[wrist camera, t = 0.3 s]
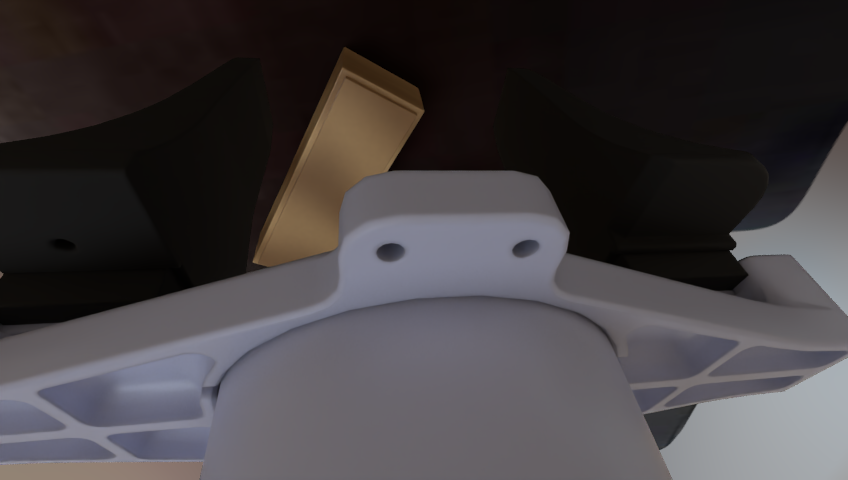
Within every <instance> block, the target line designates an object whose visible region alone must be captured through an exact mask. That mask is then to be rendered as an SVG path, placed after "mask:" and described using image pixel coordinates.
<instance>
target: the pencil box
mask: <svg viewBox="0 0 848 480" xmlns="http://www.w3.org/2000/svg"><path fill="white" fill-rule="evenodd" d="M423 113H424V107H423V104H422V100H421V96H420V92H419V89H418V88H417V87H415V86H414V85H412V84H410V83H408V82H406V81H405V80H403V79H401V78H399V77H398V76H396V75H394V74H392V73H390V72H389V71H387V70H385V69H383V68H382V67H380V66H378V65H376V64H374V63H373V62H371V61H369V60H367V59H365V58H364V57H362V56H360V55H358V54H357V53H355V52H353V51H351V50H349V49H348V48H346V47H344V48H343V50H342V52H341V54H340V57H339V59H338V61H337V63H336V66H335V68H334V70H333V72H332V75H331V77H330V79H329V81H328V83H327V86H326V88H325V90H324V92H323V95H322V97H321V99H320V101H319V103H318V106H317V108H316V110H315V112H314V115H313V117H312V119H311V121H310V124H309V126H308V128H307V130H306V132H305V135H304V137H303V139H302V141H301V144H300V146H299V148H298V150H297V153H296V155H295V157H294V159H293V161H292V164H291V166H290V168H289V170H288V173H287V175H286V177H285V179H284V181H283V184H282V186H281V188H280V190H279V193H278V195H277V197H276V199H275V202H274V204H273V206H272V208H271V210H270V213H269V215H268V217H267V219H266V222H265V224H264V226H263V228H262V231H261V233H260V237H259V240H258V244H257V248H256V251H255V255H254V259H253V263H257V264H260V265H264V266H267V267H272V266H276V265H279V264H283V263H287V262H291V261H294V260H298V259H302V258H306V257H309V256H313V255H317V254H321V253H324V252H328V251H332V250H334V249H336V248H337V247H338V238H339V212H340V209H341V205H342V202H343V198H344V195H345V192H347V191H348V190H349V189H350V188H352V187H353V186H354V185H355V184H357V183H358V182H359V181H361V180H362V179H363V178H364V177H366V176H371V175H376V174H381V173H385V172H387V171H388V170H389V168H390V167H391V165H392V163H393V162H394V160H395V158H396V157H397V155H398V154H399V152H400V150H401V149H402V147H403V146H404V144H405V142H406V141H407V139H408V137H409V136H410V134H411V133H412V131H413V129H414V128H415V126H416V125H417V123H418V121H419V120H420V118H421V116H422V115H423Z"/></svg>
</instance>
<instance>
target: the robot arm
mask: <svg viewBox="0 0 848 480" xmlns="http://www.w3.org/2000/svg"><path fill="white" fill-rule="evenodd" d="M272 129H273V121H272V116H271V111H270V107H269V102H268V97H267V92H266V87H265V82H264V78H263V73H262V68H261V63H260V59H259V58H234V59H232V60H230V61H228V62H227V63H225V64H223V65H222V66H220V67H219V68H217V69H215V70H214V71H212V72H211V73H209V74H208V75H206V76H205V77H203V78H201V79H200V80H198V81H197V82H195V83H193V84H192V85H190V86H188V87H186V88H185V89H183V90H181V91H179V92H178V93H176V94H174V95H172V96H170V97H169V98H167V99H165V100H163V101H160V102H158V103H156V104H154V105H152V106H149V107H147V108H144V109H142V110H140V111H137V112H134V113H132V114H129V115H126V116H123V117H119V118H116V119H113V120H110V121H107V122H104V123H101V124H98V125H94V126H90V127H86V128H82V129H78V130H74V131H69V132H65V133H60V134H55V135H50V136H45V137H39V138H33V139H26V140H20V141H13V142H6V143H0V271H1V272H2V273H4V274H3V276H2V277H1V279H0V465H3V464H27V463H69V462H203V466H202V471H201V475H200V480H672V477H671V475H670V473H669V471H668V469H667V466H666V464H665V462H664V460H663V458H662V456H661V453H660V451H659V449H658V447H657V444H656V442H655V440H654V438H653V436H652V433H651V431H650V429H649V427H648V425H647V422H646V420H645V418H644V416H643V414H647V413H652V412H657V411H662V410H667V409H672V408H677V407H682V406H687V405H693V404H698V403H703V402H709V401H714V400H720V399H727V398H733V397H741V396H747V395H756V394H765V393H773V392H782V391H785V390H787V389H789V388H791V387H793V386H795V385H797V384H799V383H800V382H802V381H804V380H806V379H808V378H810V377H812V376H814V375H816V374H817V373H819V372H821V371H823V370H825V369H827V368H829V367H831V366H833V365H834V364H836V363H838V362H840V361H842V360H844V359H846V358H848V316H847V315H846V314H845V313H844V312H843V311H842V310H841V309H840V307H838V305H837V304H836V303H835V302H834V301H833V300H832V299H831V298H830V297H829V296H828V294H827V293H826V292H825V291H824V290H823V289H822V288H821V287H820V286H819V285H818V284H817V283H816V282H815V280H813V278H812V277H811V276H810V275H809V274H808V273H807V272H806V271H805V270H804V269H803V267H802V266H801V265H800V264H799V263H798V262H797V261H796V260H795V259H794V258H793V257H792V256H791V255H762V256H761V255H758V256H749V257H746V258H743V259H741V260H739V261H737V260H736V258H735V257H734V256H733V255H732V253H731V252H730V251H729V250H733V249H734V248H735V247H736V242H735V241H734V240H733V238H732V237H731V236H730V235H729V233H730V232H731V231H732V230H733V229H734V228H735V227H736V226H737V225H738V224H739V223H740V222H741V221H742V219H743V218H744V217H745V216H746V215H747V214H748V213H749V212H750V211H751V210H752V209H753V208H754V207H755V205H756V204H757V203H758V202H759V200H760V199H761V198H762V196H763V194H764V192H765V190H766V188H767V185H768V177H769V174H768V172H767V170H766V168H765V167H764V166H763V165H762V164H761V163H760V162H759V161H758V160H757V159H756V158H755V157H754V156H752V155H751V154H750V153H748V152H744V151H738V150H732V149H727V148H721V147H715V146H709V145H703V144H699V143H694V142H690V141H686V140H682V139H678V138H674V137H670V136H667V135H663V134H660V133H657V132H654V131H651V130H648V129H645V128H642V127H639V126H636V125H633V124H631V123H628V122H626V121H623V120H621V119H619V118H617V117H614V116H612V115H610V114H607V113H605V112H603V111H601V110H599V109H597V108H596V107H594V106H592V105H590V104H588V103H586V102H584V101H583V100H581V99H579V98H578V97H576V96H574V95H572V94H571V93H569V92H567V91H566V90H564V89H563V88H561V87H559V86H558V85H556V84H555V83H553V82H551V81H550V80H548V79H546V78H545V77H543V76H541V75H539V74H538V73H536V72H534V71H532V70H529V69H518V68H508V69H507V73H506V77H505V81H504V85H503V89H502V94H501V98H500V102H499V106H498V110H497V114H496V118H495V122H494V126H493V129H494V134H495V140H496V144H497V148H498V153H499V155H500V158H501V161H502V163H503V166H504V168H505V171H390V172H385V173H381V174H376V175H371V176H366V177H364V178H363V179H362V180H361V181H359V182H358V183H357V184H355V185H354V186H353V187H352V188H350V189H349V190H348V191H347V192H345V195H344V198H343V202H342V205H341V209H340V212H339V238H338V247H337V248H336V249H334V250H332V251H328V252H324V253H321V254H317V255H313V256H309V257H306V258H302V259H298V260H294V261H291V262H287V263H283V264H279V265H276V266H272V267H268V268H264V269H261V270H257V271H253V272H249V273H246V267H247V258H248V249H249V241H250V233H251V226H252V219H253V214H254V209H255V205H256V201H257V198H258V194H259V190H260V187H261V183H262V180H263V176H264V172H265V169H266V165H267V161H268V158H269V154H270V149H271V140H272Z"/></svg>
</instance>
